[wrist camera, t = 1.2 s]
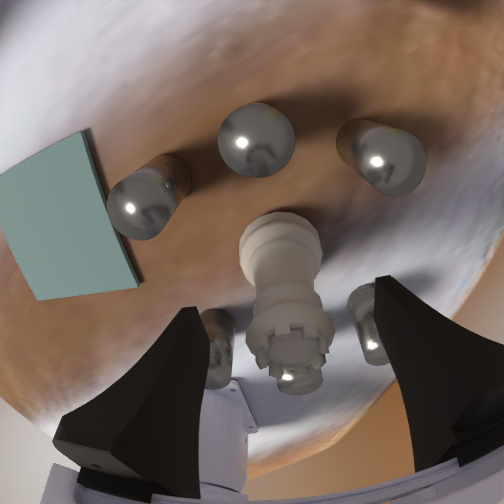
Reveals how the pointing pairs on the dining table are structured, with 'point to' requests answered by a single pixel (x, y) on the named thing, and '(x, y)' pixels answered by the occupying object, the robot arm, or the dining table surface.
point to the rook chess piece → (285, 294)
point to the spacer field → (262, 165)
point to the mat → (62, 224)
